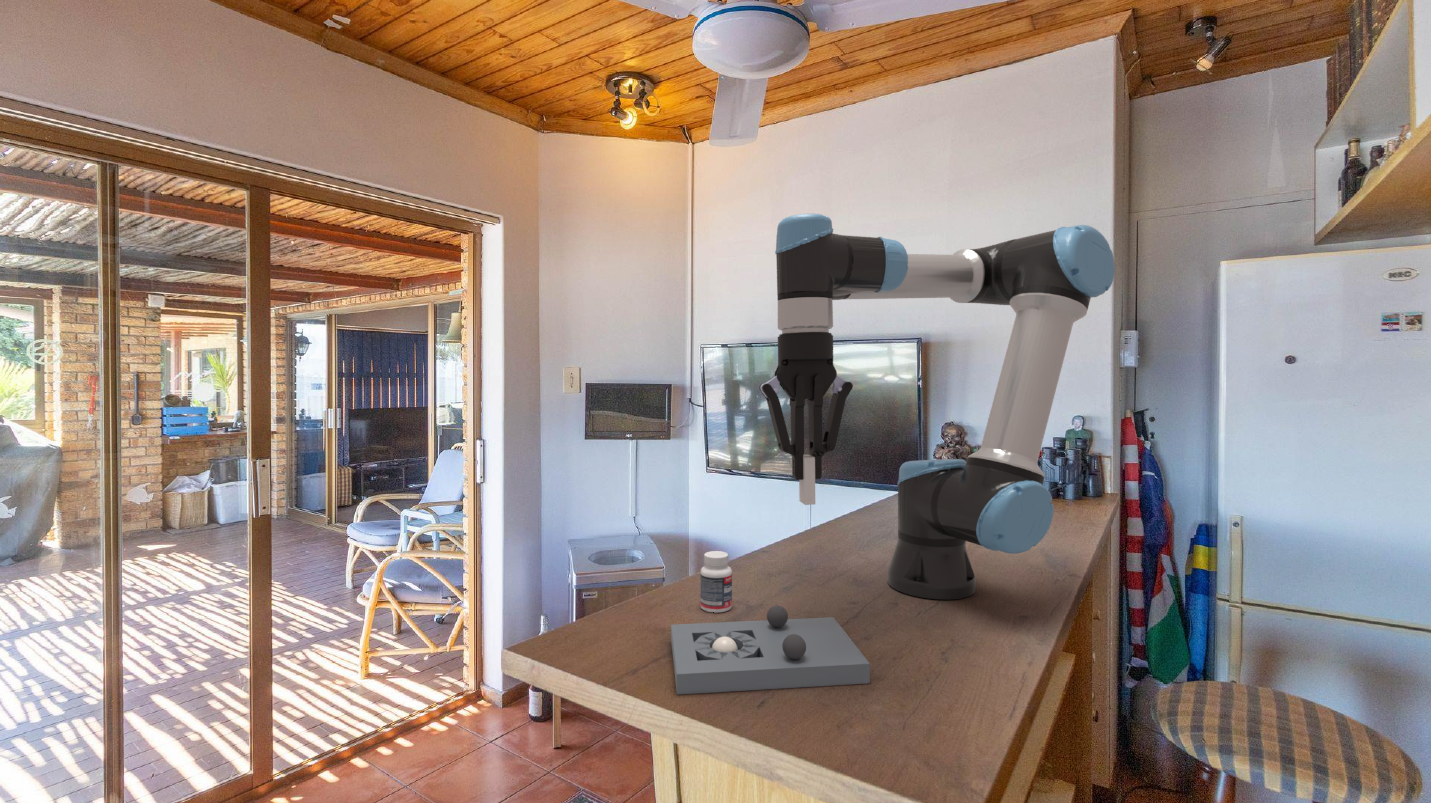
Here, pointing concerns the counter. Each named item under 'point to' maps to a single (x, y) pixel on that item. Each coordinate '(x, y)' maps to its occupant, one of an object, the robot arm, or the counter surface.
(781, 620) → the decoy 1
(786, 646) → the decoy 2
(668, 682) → the counter surface
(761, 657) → the plate
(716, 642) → the ball
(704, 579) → the pill bottle
